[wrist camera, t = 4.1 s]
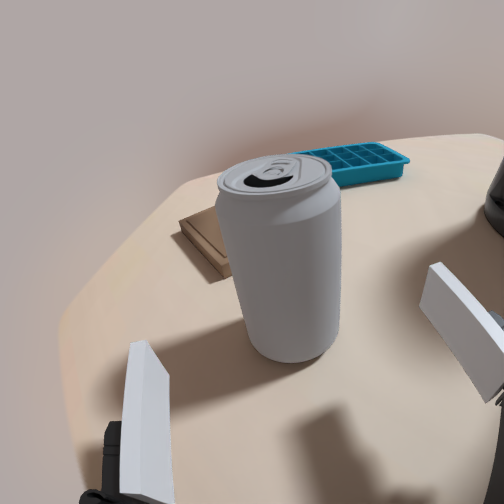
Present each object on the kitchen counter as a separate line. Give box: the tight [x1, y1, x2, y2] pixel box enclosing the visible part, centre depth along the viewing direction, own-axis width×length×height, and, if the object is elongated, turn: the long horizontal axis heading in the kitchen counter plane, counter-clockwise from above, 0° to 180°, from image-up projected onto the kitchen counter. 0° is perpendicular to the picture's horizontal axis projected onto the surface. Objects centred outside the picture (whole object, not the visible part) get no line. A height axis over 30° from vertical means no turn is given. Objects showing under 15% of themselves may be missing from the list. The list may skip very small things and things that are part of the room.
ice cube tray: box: [289, 142, 410, 187], centre depth 43 cm, size 12×20×3 cm, turn 98°
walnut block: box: [179, 206, 232, 279], centre depth 33 cm, size 12×12×2 cm
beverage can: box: [215, 154, 342, 363], centre depth 18 cm, size 6×6×12 cm
